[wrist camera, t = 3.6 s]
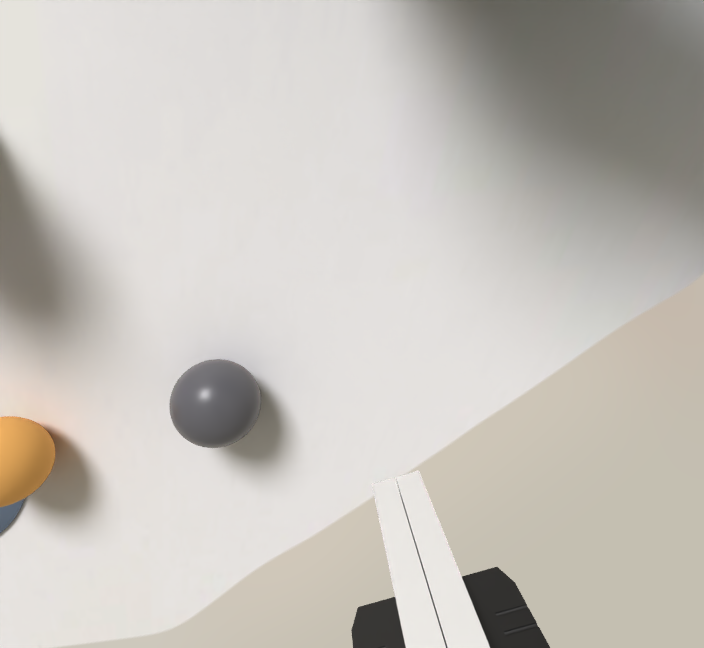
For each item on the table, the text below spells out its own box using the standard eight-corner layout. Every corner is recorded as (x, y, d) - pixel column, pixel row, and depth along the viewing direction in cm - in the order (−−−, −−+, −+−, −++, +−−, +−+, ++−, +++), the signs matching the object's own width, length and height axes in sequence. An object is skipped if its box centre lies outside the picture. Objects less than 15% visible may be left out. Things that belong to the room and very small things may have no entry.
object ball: (-28, 414, 28) (-109, 461, 22) (51, 392, 28) (-11, 434, 23) (10, 481, 29) (-57, 540, 24) (86, 460, 29) (35, 515, 24)
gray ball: (173, 360, 28) (140, 394, 23) (251, 339, 28) (236, 367, 23) (201, 429, 29) (176, 476, 24) (275, 409, 30) (266, 451, 24)
